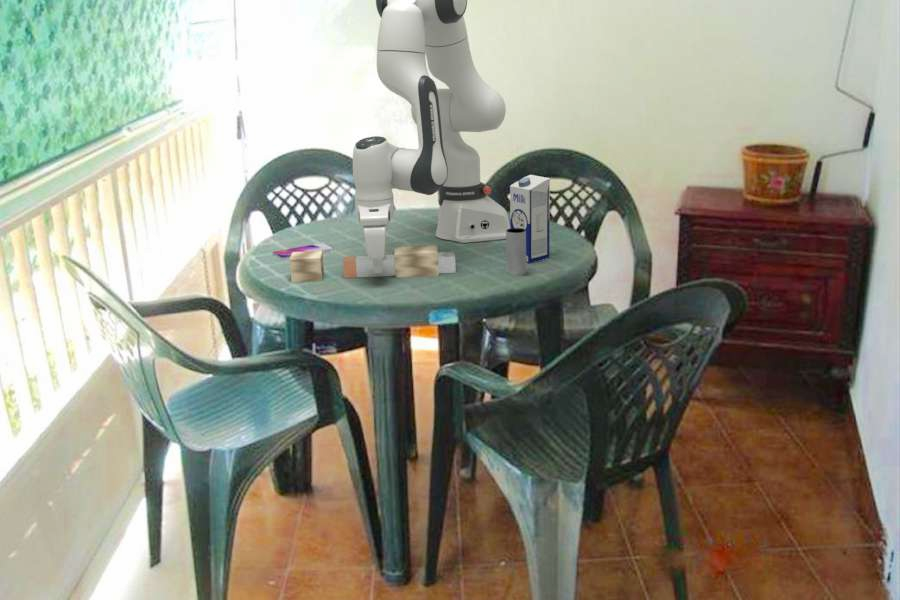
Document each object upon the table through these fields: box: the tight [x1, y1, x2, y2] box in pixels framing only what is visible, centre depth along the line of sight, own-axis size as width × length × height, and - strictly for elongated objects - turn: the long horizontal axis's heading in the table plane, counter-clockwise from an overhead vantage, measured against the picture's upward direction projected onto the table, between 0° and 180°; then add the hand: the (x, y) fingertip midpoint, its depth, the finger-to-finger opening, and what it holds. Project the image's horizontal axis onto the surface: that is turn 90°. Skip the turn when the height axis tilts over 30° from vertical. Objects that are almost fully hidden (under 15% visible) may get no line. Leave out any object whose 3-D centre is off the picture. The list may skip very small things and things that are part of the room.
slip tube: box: [342, 251, 457, 279], centre depth 197 cm, size 26×4×4 cm, turn 94°
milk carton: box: [509, 174, 551, 264], centre depth 204 cm, size 7×7×20 cm
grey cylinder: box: [505, 228, 527, 276], centre depth 194 cm, size 4×4×10 cm
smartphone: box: [272, 242, 336, 260], centre depth 219 cm, size 7×1×15 cm
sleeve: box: [393, 245, 440, 278], centre depth 197 cm, size 10×6×6 cm, turn 94°
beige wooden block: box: [288, 251, 325, 283], centre depth 196 cm, size 7×6×6 cm
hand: (378, 267), depth 197 cm, fingers open, 6 cm apart
